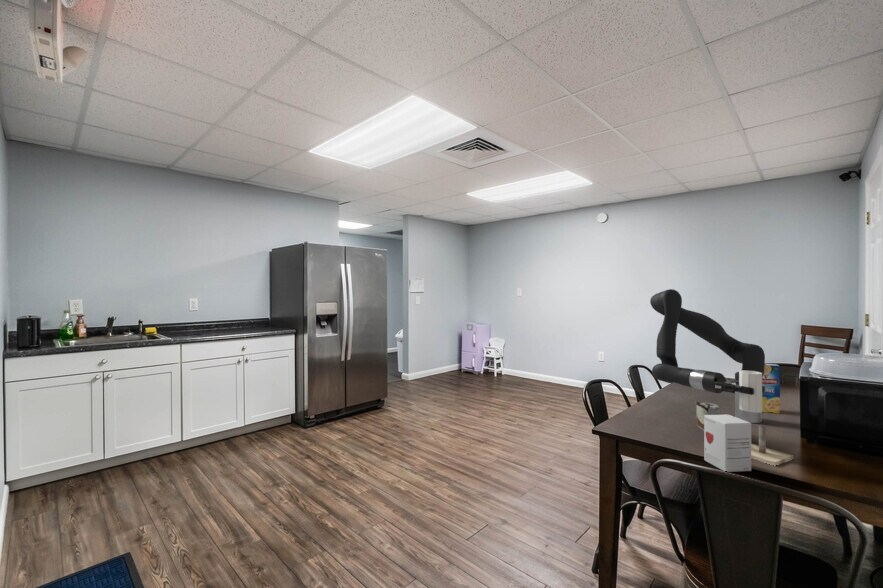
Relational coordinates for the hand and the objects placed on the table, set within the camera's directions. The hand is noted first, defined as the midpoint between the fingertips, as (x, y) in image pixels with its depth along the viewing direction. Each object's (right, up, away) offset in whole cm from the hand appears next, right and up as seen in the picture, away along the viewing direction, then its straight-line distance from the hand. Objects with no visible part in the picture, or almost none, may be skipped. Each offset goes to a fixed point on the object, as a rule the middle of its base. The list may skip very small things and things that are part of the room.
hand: (758, 390), depth 132 cm
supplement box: (-17, -22, -8) cm, 29 cm away
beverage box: (+45, -23, +53) cm, 73 cm away
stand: (+1, -22, -1) cm, 22 cm away
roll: (-1, -7, +2) cm, 8 cm away
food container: (+1, -22, +25) cm, 34 cm away
